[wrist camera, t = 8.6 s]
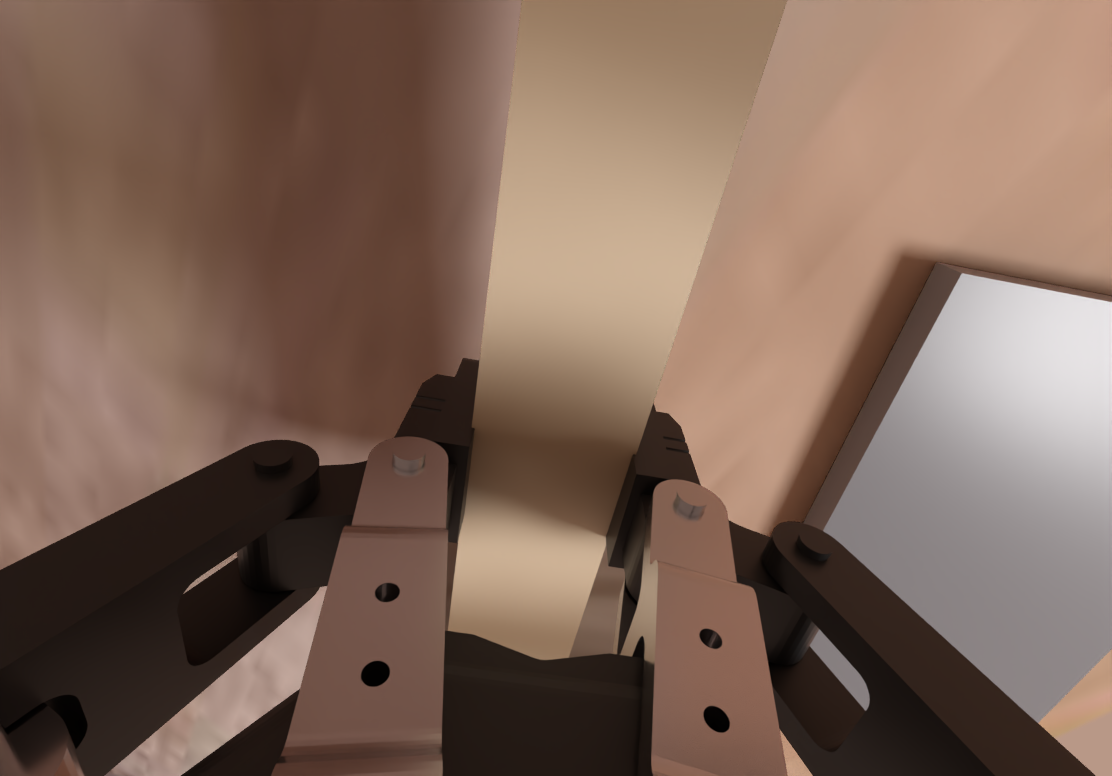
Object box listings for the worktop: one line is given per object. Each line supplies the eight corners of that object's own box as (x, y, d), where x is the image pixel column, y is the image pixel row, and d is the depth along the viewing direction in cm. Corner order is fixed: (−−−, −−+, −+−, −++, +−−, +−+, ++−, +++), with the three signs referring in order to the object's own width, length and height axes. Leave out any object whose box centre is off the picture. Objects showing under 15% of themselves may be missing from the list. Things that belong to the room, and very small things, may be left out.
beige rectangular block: (409, -56, 10) (278, -129, 5) (840, 38, 10) (1023, 38, 6) (394, 529, 18) (336, 682, 14) (636, 565, 18) (652, 724, 14)
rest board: (936, 262, 17) (961, 273, 15) (1350, 342, 17) (1401, 358, 16) (724, 677, 26) (730, 701, 25) (1001, 715, 27) (1019, 741, 26)
